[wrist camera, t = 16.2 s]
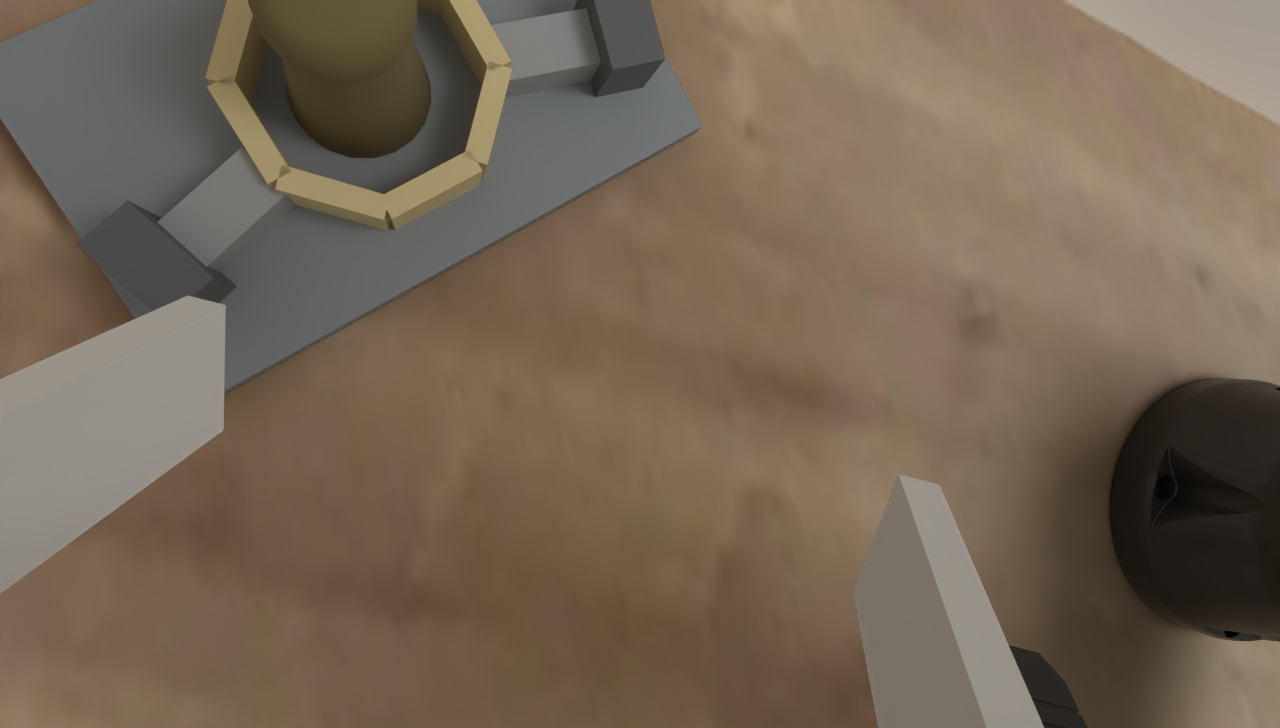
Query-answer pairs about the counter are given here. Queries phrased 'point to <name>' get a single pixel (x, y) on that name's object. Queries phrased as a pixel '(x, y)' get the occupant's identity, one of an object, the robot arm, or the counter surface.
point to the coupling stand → (322, 153)
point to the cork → (350, 70)
